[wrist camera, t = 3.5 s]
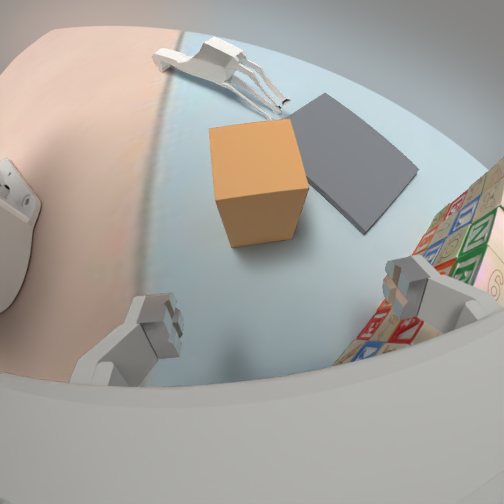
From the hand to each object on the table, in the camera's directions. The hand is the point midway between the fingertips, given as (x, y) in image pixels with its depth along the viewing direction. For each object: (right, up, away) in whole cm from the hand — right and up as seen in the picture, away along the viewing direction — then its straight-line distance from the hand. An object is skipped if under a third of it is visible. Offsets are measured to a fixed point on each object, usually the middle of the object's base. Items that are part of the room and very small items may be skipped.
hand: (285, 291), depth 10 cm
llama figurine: (-6, +20, +19) cm, 28 cm away
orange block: (-1, +5, +14) cm, 14 cm away
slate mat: (+8, +11, +15) cm, 20 cm away
